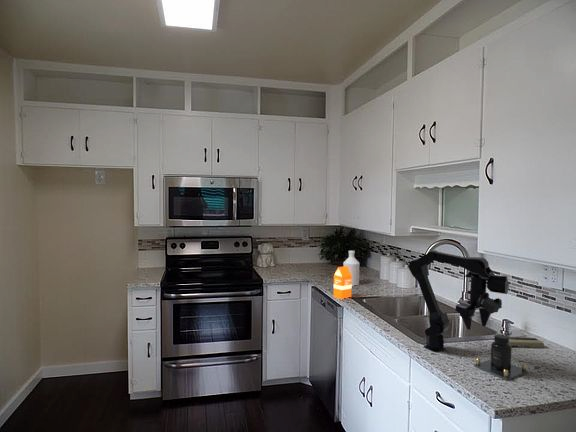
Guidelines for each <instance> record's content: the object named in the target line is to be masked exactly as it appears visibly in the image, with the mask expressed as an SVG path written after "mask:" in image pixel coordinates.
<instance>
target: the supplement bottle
mask: <svg viewBox="0 0 576 432" xmlns="http://www.w3.org/2000/svg"><path fill="white" fill-rule="evenodd" d="M509 337H510V336H507V335H504V334H501V333H500V334H499V333H498V334H495V335H494V339H493V341H492V342H491V344H490V359H491V366H492V367H493V368H494V369H497V370H500V371H504V369H507V370H508V371H509V370H510V369H511V364H512V355H513V354H512V351H513V349H512V348H513V347H511V345H510V344H508V343H509Z"/></svg>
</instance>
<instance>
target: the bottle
mask: <svg viewBox="0 0 576 432" xmlns="http://www.w3.org/2000/svg"><path fill="white" fill-rule="evenodd" d="M355 251H356V250H348V258H346V259H345V260H344V261H343V263H342V264H343V266H342V267H344V266H348V268H349V271H350V273H351V275H352V287H355V286H354V285H358V286H359V284H360V266H361V265H360V262H359V260H357V259H356V257H355V254H356V253H355Z"/></svg>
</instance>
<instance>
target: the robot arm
mask: <svg viewBox="0 0 576 432" xmlns="http://www.w3.org/2000/svg"><path fill="white" fill-rule="evenodd" d="M434 261H435V262H439V263H443V264H448V265H451V266H455V267H461V268H463V269H465V270H466V271H469V272H468V273H467V274H465V276H464V277H465V278H470V284H469V287H470V288H469V290H467V294H469V300H467V301H466V303H457V304H456V305H455V312H457V313H458V314H459V315H460V317H461V318H462V321H463V323H464V326H465V327H466V330H471V327H472V320H473V317H474V316H475V315H476V314H475V312H476V310H479V315H480V320H481V321H480V322H481V325H482V327H486V326H487V323H488V321H489V319H490V317H491V315H492V314H494V313H498V312H499V310H500V309H502V308H503V306H502V305H503V303H502V302H503V300H502V299H501V298H499V297H498V298H495V299H494V298H490V294H489V292H491V293H496V294H497V293H498V294H503V295H508V292H509V287H510V283H509V279H508V276H507V275H498V274H497V275H496V274H495V273H494V272H493V270H492V269H491V267H490V266H489V265H490V264H489V261H488V260H487V259H486V258H485V257H476V256H475V257H474V256H471V257H470V256H469V257H467V256H460V255H456V254H450V253H446V252H442V251H437V250H431V251H428V252H427V253H425V254H424V255H423V256H421V257H419V258H417V259H413V260H411V261H409V264H408V269H409V271H410V273H411V275H412V277H413V278H414V279H415V280H416V282H417V283H418V286H419V289H420V291H421V294H422V297H423V299H424V303H425V305H426V308H427V309H428V321H429V326H428V327H427V328H426V329H425V330H424V334H425V336H426V343H425V345H423V348H426V349H428V350H430V351H432V352H435V353H437V352H441V351H444V350H446V347H445V345H444V344H445V342H444V341H445V340H444V335H443V334H444V333H445V331H447V330H448V329H449V327H450V322H451V321H450V318H449V317H448V314H447V312H443V311H442V310H441V309H440V307H439V304H438V301H437V298H436V295H435V293H434V291H433V288H432V285H431V281H430V279H429V268H428V266H429V265H430V264H432V263H433V262H434ZM487 290H488V291H489V292H487Z"/></svg>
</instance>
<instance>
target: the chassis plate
mask: <svg viewBox="0 0 576 432" xmlns="http://www.w3.org/2000/svg"><path fill="white" fill-rule="evenodd" d="M527 365H528V364H527V363H525V362H522V363H521V367H520V366H517V365H514V364H512V363H511V369H510V370H509V371H508V370H507V369H504V371H500V370H497V369H494V368H493V367H492V366H491V358H490V359H487V360H483V361H481V358H480V357H476V359H475V364H473V366H474V367H475V368H476V369H480V370H482V371H484V372H486V373H489V374H490V375H493V376H494V377H497V378H499V379H502V380H504V381H506V382H507V381H510V380H513V379H515V378H518V377H521V376H524V375H527V374H529V370H528V369H527Z"/></svg>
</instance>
